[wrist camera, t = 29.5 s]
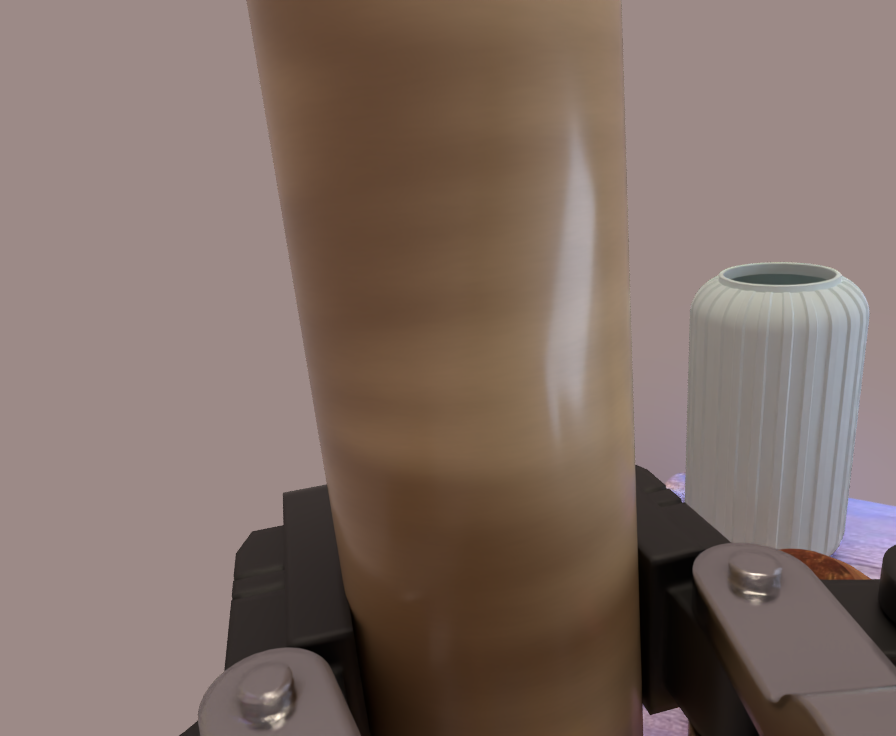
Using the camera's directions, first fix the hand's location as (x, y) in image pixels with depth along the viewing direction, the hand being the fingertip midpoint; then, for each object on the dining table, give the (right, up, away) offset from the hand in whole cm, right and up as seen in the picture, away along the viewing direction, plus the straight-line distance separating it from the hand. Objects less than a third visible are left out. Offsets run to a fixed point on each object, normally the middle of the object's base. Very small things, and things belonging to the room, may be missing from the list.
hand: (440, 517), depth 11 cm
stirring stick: (+2, -11, 0) cm, 11 cm away
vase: (+25, -12, +44) cm, 52 cm away
